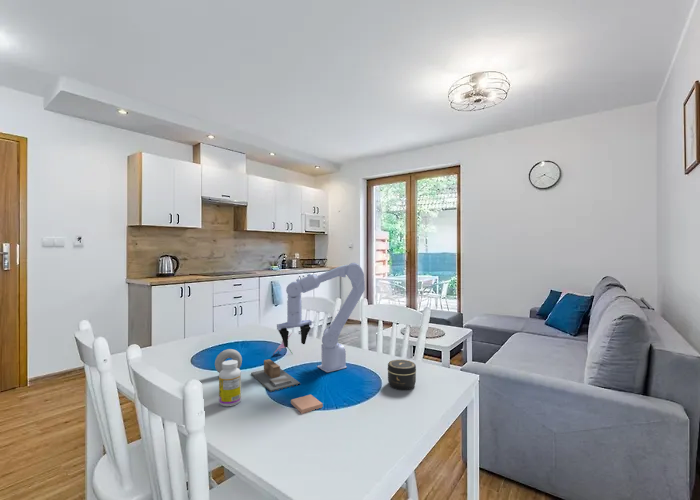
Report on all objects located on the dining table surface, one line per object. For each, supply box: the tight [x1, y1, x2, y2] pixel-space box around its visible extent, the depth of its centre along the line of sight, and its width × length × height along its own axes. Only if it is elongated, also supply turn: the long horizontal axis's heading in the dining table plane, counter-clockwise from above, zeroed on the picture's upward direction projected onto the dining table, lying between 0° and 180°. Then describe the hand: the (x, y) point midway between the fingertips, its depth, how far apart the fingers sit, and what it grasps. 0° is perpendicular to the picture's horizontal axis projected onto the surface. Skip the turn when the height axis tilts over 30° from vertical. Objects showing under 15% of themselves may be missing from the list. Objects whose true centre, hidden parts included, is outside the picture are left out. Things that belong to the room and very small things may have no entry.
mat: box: [251, 368, 301, 392], centre depth 129 cm, size 11×20×1 cm, turn 34°
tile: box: [290, 394, 324, 415], centre depth 107 cm, size 7×2×8 cm
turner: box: [263, 359, 291, 387], centre depth 128 cm, size 16×6×4 cm, turn 35°
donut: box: [214, 348, 243, 374], centre depth 133 cm, size 10×4×10 cm, turn 119°
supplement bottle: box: [218, 359, 242, 407], centre depth 110 cm, size 7×7×13 cm
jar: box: [387, 359, 417, 391], centre depth 123 cm, size 10×10×8 cm
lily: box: [272, 332, 293, 356], centre depth 159 cm, size 12×12×10 cm
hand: (294, 345), depth 140 cm, fingers open, 7 cm apart
